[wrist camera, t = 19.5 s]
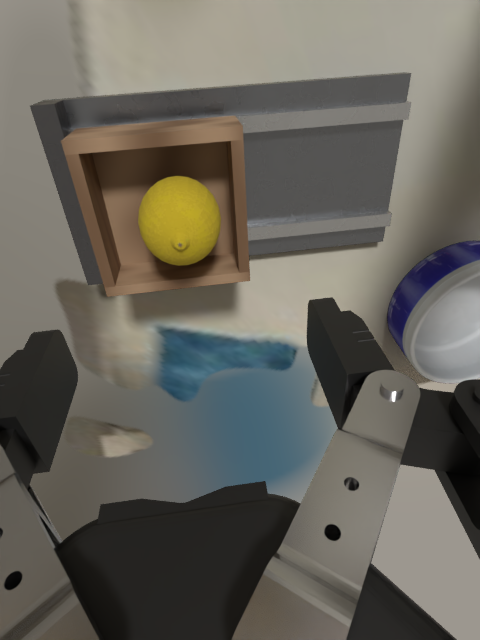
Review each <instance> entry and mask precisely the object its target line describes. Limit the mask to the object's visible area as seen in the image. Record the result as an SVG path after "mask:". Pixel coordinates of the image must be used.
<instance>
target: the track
mask: <svg viewBox="0 0 480 640" xmlns="http://www.w3.org/2000/svg"><path fill="white" fill-rule="evenodd" d="M410 77H411V73H393V74H380V75H366V76H353V77H340V78H327V79H314V80H301V81H288V82H275V83H262V84H249V85H236V86H222V87H209V88H196V89H183V90H170V91H157V92H144V93H131V94H118V95H105V96H91V97H78V98H67V99H66V98H65V99H52V100H43V101H41V102H38V103H36V104H33V105H31V106H30V107H31V111H32V114H33V117H34V120H35V123H36V126H37V129H38V132H39V135H40V138H41V141H42V144H43V147H44V151H45V153H46V157H47V160H48V163H49V166H50V169H51V172H52V175H53V178H54V181H55V184H56V187H57V191H58V194H59V196H60V200H61V203H62V206H63V209H64V212H65V215H66V218H67V221H68V224H69V228H70V231H71V234H72V237H73V240H74V243H75V246H76V249H77V252H78V255H79V258H80V261H81V264H82V268H83V271H84V274H85V277H86V280H87V283H88V285H94V284H103V281H102V278H101V274H100V271H99V267H98V264H97V261H96V257H95V254H94V251H93V247H92V244H91V241H90V237H89V234H88V231H87V227H86V224H85V220H84V217H83V214H82V210H81V207H80V204H79V200H78V197H77V194H76V190H75V187H74V184H73V180H72V177H71V173H70V170H69V167H68V163H67V160H66V157H65V153H64V150H63V147H62V143H61V140H63V139H64V138H65V137H66V136H68V135H69V134H70V133H71V132H73V131H74V130H75V129H77V128H89V127H101V126H114V125H126V124H138V123H150V122H163V121H175V120H187V119H199V118H211V117H224V116H236V118H237V119H238V120H239V122H240V123H241V124H242V125H243V141H244V163H245V184H246V205H247V227H248V248H249V256H250V255H259V254H269V253H278V252H287V251H297V250H306V249H315V248H325V247H334V246H343V245H353V244H362V243H371V242H381V241H383V238H384V232H385V226H390V221H391V215H392V213H391V212H389V211H388V208H389V202H390V196H391V190H392V184H393V178H394V172H395V166H396V160H397V154H398V148H399V142H400V136H401V130H402V124H403V120H406V119H408V118H409V112H410V106H411V102H408V101H407V95H408V89H409V83H410Z"/></svg>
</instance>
